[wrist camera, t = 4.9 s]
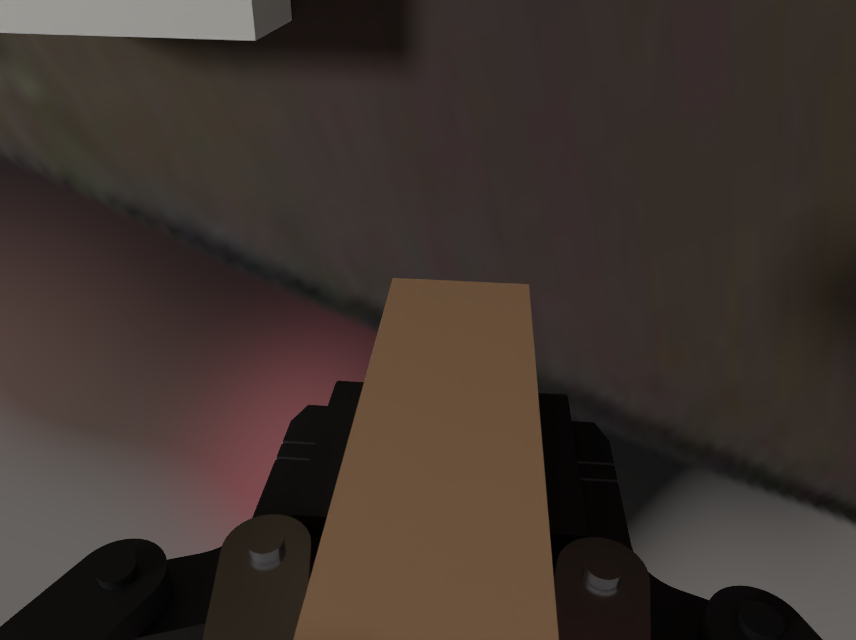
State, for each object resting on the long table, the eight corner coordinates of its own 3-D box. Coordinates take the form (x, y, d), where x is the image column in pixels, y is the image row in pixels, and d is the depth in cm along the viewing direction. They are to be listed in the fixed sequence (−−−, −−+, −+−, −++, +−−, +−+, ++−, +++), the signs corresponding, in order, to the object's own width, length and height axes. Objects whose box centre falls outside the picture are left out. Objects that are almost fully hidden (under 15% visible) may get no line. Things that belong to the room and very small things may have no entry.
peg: (528, 284, 16) (568, 756, 7) (518, 394, 17) (540, 894, 8) (392, 278, 16) (267, 729, 7) (394, 387, 17) (293, 868, 9)
